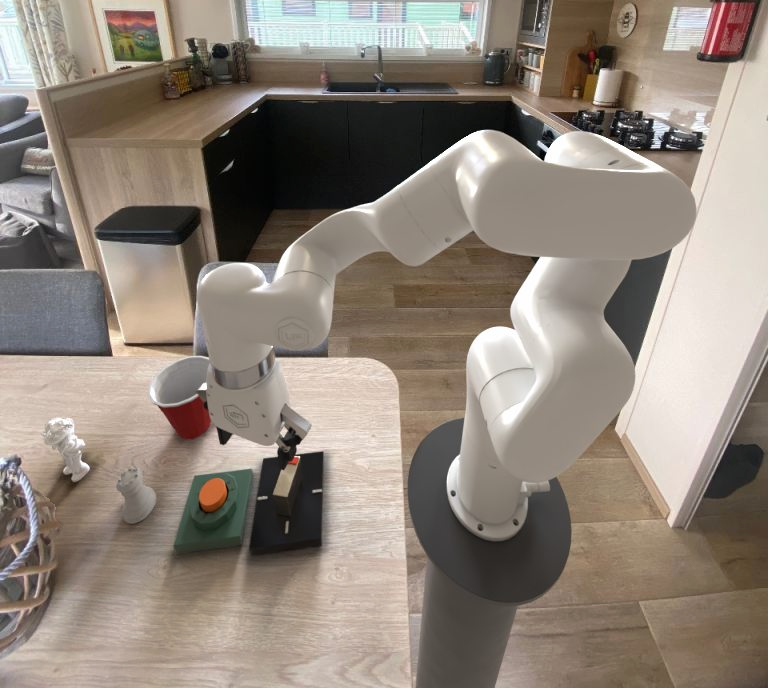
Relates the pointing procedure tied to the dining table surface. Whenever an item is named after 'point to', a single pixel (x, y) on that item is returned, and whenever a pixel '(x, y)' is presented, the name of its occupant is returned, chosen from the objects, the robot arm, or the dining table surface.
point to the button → (213, 495)
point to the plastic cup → (182, 395)
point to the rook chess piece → (135, 495)
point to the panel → (306, 515)
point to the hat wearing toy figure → (66, 446)
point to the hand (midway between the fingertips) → (258, 446)
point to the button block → (215, 514)
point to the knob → (287, 487)
